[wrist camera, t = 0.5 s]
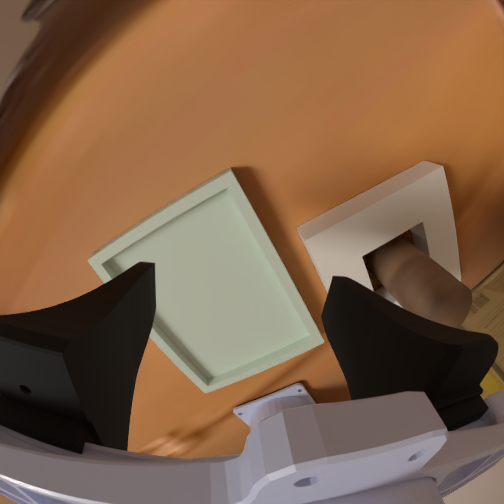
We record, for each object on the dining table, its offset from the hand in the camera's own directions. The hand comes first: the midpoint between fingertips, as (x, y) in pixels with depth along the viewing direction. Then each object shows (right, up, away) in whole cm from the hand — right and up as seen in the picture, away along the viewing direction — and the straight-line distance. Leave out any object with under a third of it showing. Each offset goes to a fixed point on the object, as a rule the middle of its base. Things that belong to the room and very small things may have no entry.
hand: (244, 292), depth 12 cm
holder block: (+12, +1, +11) cm, 16 cm away
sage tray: (-3, -2, +11) cm, 12 cm away
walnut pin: (+12, +1, +11) cm, 16 cm away
